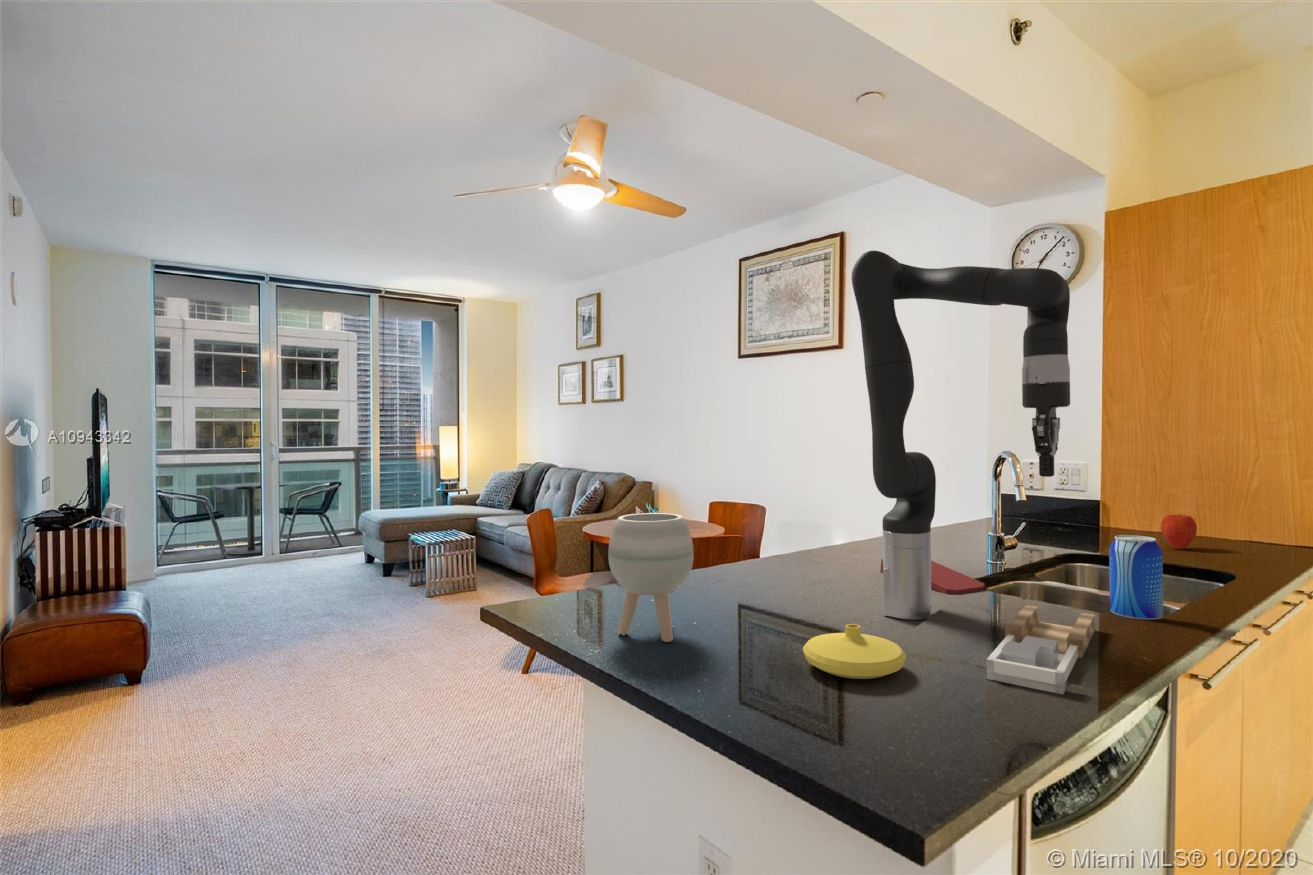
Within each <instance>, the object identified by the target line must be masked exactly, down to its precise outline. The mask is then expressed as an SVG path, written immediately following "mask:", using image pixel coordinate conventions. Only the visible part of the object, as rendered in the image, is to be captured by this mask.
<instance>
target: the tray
mask: <svg viewBox="0 0 1313 875" xmlns="http://www.w3.org/2000/svg"><path fill="white" fill-rule="evenodd" d="M1008 641H1011V642H1015V635H1010V634H1008V635H1007V636H1006V637H1005V636H1004V638H1003V639H1002V641H1001V642H1000V643H999V644H998V645H997V646H996V648H995V649H994V650H993V651H992V652H991V653H990V655H988V657H987V658H986V679H987V680H992V681H996V682H1000V683H1005V684H1011V685H1015V686H1020V687H1025V688H1030V689H1033V690H1034V689H1035V690H1040V691H1042V692H1043V691H1044V692H1049V693H1054V694H1058V695H1059V694H1060V695H1064V694H1065V692H1066V690H1067V688H1068V686H1069V685H1070V682H1069V681H1067V680H1068V679H1069V676H1070V674H1071V672H1072V671H1073V668H1074V666H1075V664H1076V662H1077V660H1078V658H1079V657H1078V646H1077V645H1071V644H1070V646H1069V648H1068V650H1067V652H1066V653H1065V655H1064V654H1058V662H1057V663H1056V665H1055V667H1054V668H1050V667H1044V666H1040V667H1037V666H1032V665H1026V664H1021V663H1016V662H1010V661H1005V660H1002V648H1003V646H1004V645H1005V644H1006V643H1007V642H1008Z"/></svg>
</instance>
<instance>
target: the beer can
mask: <svg viewBox="0 0 1313 875" xmlns="http://www.w3.org/2000/svg"><path fill="white" fill-rule="evenodd" d="M1108 551H1109V552H1108V554H1109V558H1108V559H1109V564H1108V565H1109V566H1108V567H1109V568H1108V569H1109V611H1110V613H1112V614H1115V615H1117V616H1120V617H1125V618H1131V619H1136V620H1161V619H1162V618H1163V617H1164V578H1163V577H1164V575H1163V574H1164V568H1163V565H1164V564H1163V562H1164V561H1163V560H1164V559H1163V550H1162V548H1161V547H1160V546H1159V544H1158V543H1157V539H1156V538H1154V537H1151V536H1145V535H1133V534H1132V535H1131V534H1129V535H1128V534H1120V535H1115V536H1114V540H1113V541H1112V542H1111V544H1110V546H1109V547H1108Z"/></svg>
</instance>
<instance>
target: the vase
mask: <svg viewBox="0 0 1313 875" xmlns="http://www.w3.org/2000/svg"><path fill="white" fill-rule="evenodd" d="M802 650H803V654H804V656H805V660H806V661H807V662H808V663H809V664H810V665H812V666H814V667H816V668H817V669H819V670H821V671H823V672H826V673H827V674H830V675H832V676H837V677H841V678H845V679H852V680H853V679H854V680H856V679H857V680H868V679H870V680H871V679H876V678H882V677H885V676H887V675H890V674H893V673H895V672H898V671H899V670H902V668H903V666H904V664H905V662H906V658H907V655H906V653H905V652H904V650H903V649H902V648H901V646H900V645H898V644H897V643H895V642H893V641H891V640H889V639H886V638H884V637H879V636H876V635H871V634H865V633H861V625H859V624H855V623H849V624H848V623H847V624H845V632H831V633H825V634H824V633H823V634H820V635H816V636H813V637H812V638H810V639H808V641H807V642H806V643H805V644H804V646H803V647H802Z"/></svg>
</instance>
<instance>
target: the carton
mask: <svg viewBox="0 0 1313 875" xmlns="http://www.w3.org/2000/svg"><path fill="white" fill-rule="evenodd" d="M880 562H881V563H880V571H879V572H882V573H881V574H883V558H881V560H880ZM985 587H986V583H984V582H983V581H980V580H978V579H975V578H973V577H970V576H968V575H966V574H963V573H961V572H958V571H956V570H954V569H952V568H949V567H947V566H945V565H942V564H940V563H938V562H935V561H933V560H931V589H932V590H935V591H937V592H940V593H941V594H944V595H961V594H968V593H975V592H982V591H984V589H985Z"/></svg>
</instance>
